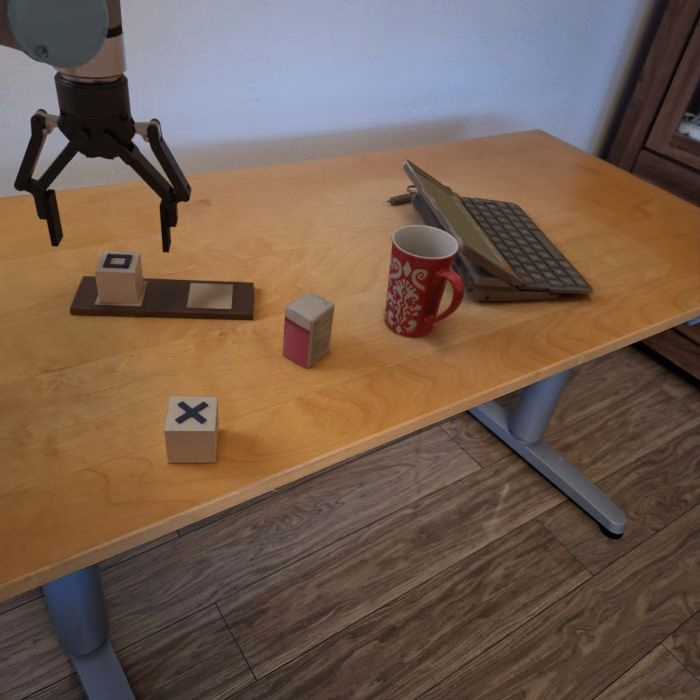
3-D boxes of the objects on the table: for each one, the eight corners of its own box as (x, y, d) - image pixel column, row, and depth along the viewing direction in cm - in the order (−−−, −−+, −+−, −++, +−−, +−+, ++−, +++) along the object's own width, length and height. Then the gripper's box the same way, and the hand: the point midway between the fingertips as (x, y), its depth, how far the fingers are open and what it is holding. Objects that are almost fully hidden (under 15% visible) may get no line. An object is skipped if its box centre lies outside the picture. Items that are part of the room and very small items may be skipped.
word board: (70, 314, 82) (69, 308, 82) (84, 281, 88) (82, 275, 88) (253, 320, 86) (253, 313, 85) (253, 287, 92) (253, 281, 91)
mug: (365, 312, 90) (378, 230, 82) (414, 298, 95) (431, 219, 86) (415, 363, 83) (436, 279, 74) (466, 346, 87) (491, 264, 78)
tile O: (106, 281, 87) (101, 249, 84) (143, 283, 88) (140, 251, 85) (99, 302, 83) (94, 269, 80) (138, 303, 84) (134, 271, 81)
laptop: (446, 306, 94) (462, 246, 87) (392, 208, 118) (401, 155, 111) (593, 302, 100) (619, 245, 93) (514, 209, 124) (529, 159, 117)
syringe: (367, 198, 120) (368, 190, 119) (437, 184, 129) (438, 176, 128) (391, 216, 115) (392, 207, 114) (461, 200, 124) (463, 192, 123)
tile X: (167, 463, 65) (163, 429, 62) (173, 428, 69) (169, 394, 66) (216, 463, 66) (214, 429, 63) (218, 428, 70) (217, 395, 67)
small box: (304, 337, 84) (308, 289, 79) (330, 351, 83) (335, 303, 78) (280, 355, 81) (283, 306, 76) (307, 370, 79) (311, 321, 74)
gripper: (-48, 70, 62) (0, 253, 76) (205, 94, 66) (208, 264, 80) (-21, 51, 68) (19, 224, 81) (210, 74, 72) (212, 235, 85)
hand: (113, 244), depth 81 cm, fingers open, 13 cm apart
